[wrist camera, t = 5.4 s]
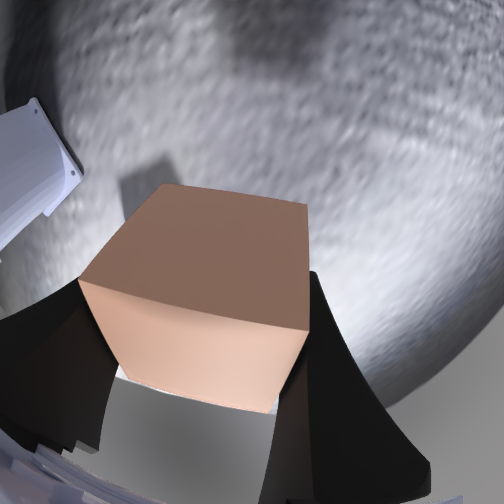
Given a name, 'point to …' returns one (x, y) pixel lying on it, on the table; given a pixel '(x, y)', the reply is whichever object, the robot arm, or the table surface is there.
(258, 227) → the peach block
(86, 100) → the table surface
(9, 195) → the robot arm
